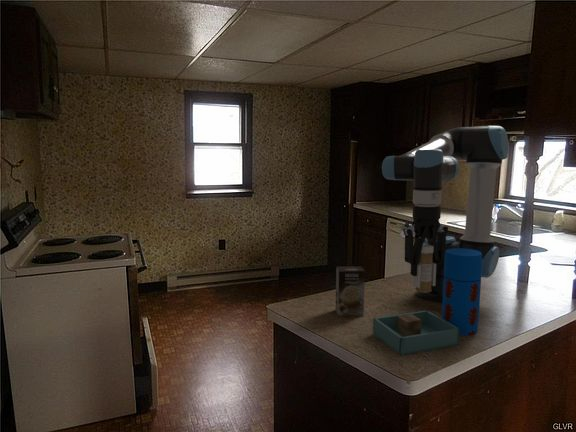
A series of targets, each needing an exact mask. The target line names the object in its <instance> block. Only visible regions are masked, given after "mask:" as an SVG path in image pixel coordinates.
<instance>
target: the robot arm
mask: <svg viewBox="0 0 576 432" xmlns="http://www.w3.org/2000/svg"><path fill="white" fill-rule="evenodd" d="M509 147H510V146H509V137H508V134H507V131H506V129H505V128H504V127H502V126H501V125H480V126H479V125H478V126H466V127H465V126H461V127H460V126H459V127H455V128H452V129H448V130H445V131H443V132H440V133H438V134H435V135H434V136H432V137H431V138H430V140H429V141H428V142H426V143H424V144H422V145H420V146H418V147H415V148H413V149H411V150H410V151H407V152H406V153H403V154H401V155H390V156H389V155H388V156H385V158H384V159H383V161H382V164H381V171H382V176H383V177H384V178H385V179H386V180H389V181H390V180H391V181H392V180H393V181H412V182H413V188H412V189H413V190H412V203H413V206H412V215H411V216H412V220H413V221H412V224H411V225H410V226H408V227H404V228H403V235H404V262H406V263H408V264H410V275H411V276H412V281H411V282H412V284H411V285H412V286H414V287H415V288H416V287H417V288H420V278H421V265H419V259H420V255H421V251H422V246H423V244H429V245H432V246H433V247H434V250H433V258H432V263H433V264H432V281H431V289H432V291H431V292H428V293H423V292H418V291H416V295H417V296H418V297H419V298H421V299H424V300H427V301H432V302H442V303H443V283H444V260H445V252H446V250H447V249H452V248H464V249H472V250H477V251H480V252H481V253H482V271H481V278H489V277H491V276H492V275H494V272H495V271H496V268H497V266H498V263H499V259H500V248H499V247H498V246H496V245H495V244H496V243H495V240H494V238H493V237H491V231H492V222H493V210H494V209H493V208H494V199H495V188H496V187H495V186H496V178H497V177H496V176H497V169H499V167H501V166H502V160H506V159H507V158H508V156H509ZM457 159H458V160H465V161H466V162H465V164H466V166H467V167H469V179H468V189H467V190H468V191H467V203H466V215H465V216H466V217H465V224H464V225H465V227H464V234H462V236H460V237H459V241H457V239H456V238H455V236H450V235H447V233H448V231H449V226H447V225H442V224H441V223H440V220H441V215H442V214H441V212H442V211H441V210H442V207H441V204H442V192H443V191H442V187H443V183H444V182H445V183H447V182H450V181H451V180H453V179H455V178H456V177H457V176H458V174H459V173H460V163H459V162H458V160H457Z"/></svg>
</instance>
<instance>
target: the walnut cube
mask: <svg viewBox="0 0 576 432" xmlns="http://www.w3.org/2000/svg"><path fill="white" fill-rule="evenodd" d="M397 332H399V333H400V334H402V335H403V336H404V337H406V336H412V335H418V334H421V319H419V318H417V317H416V316H414V315H412V314H409V315H402V316H398V324H397Z"/></svg>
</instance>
